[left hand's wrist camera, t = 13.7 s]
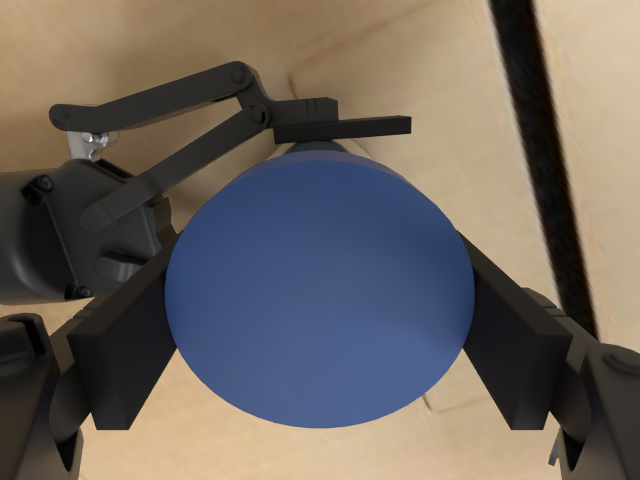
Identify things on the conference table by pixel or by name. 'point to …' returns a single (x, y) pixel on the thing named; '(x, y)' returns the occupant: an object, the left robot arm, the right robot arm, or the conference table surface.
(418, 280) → the lid
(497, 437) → the conference table surface
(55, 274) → the right robot arm
